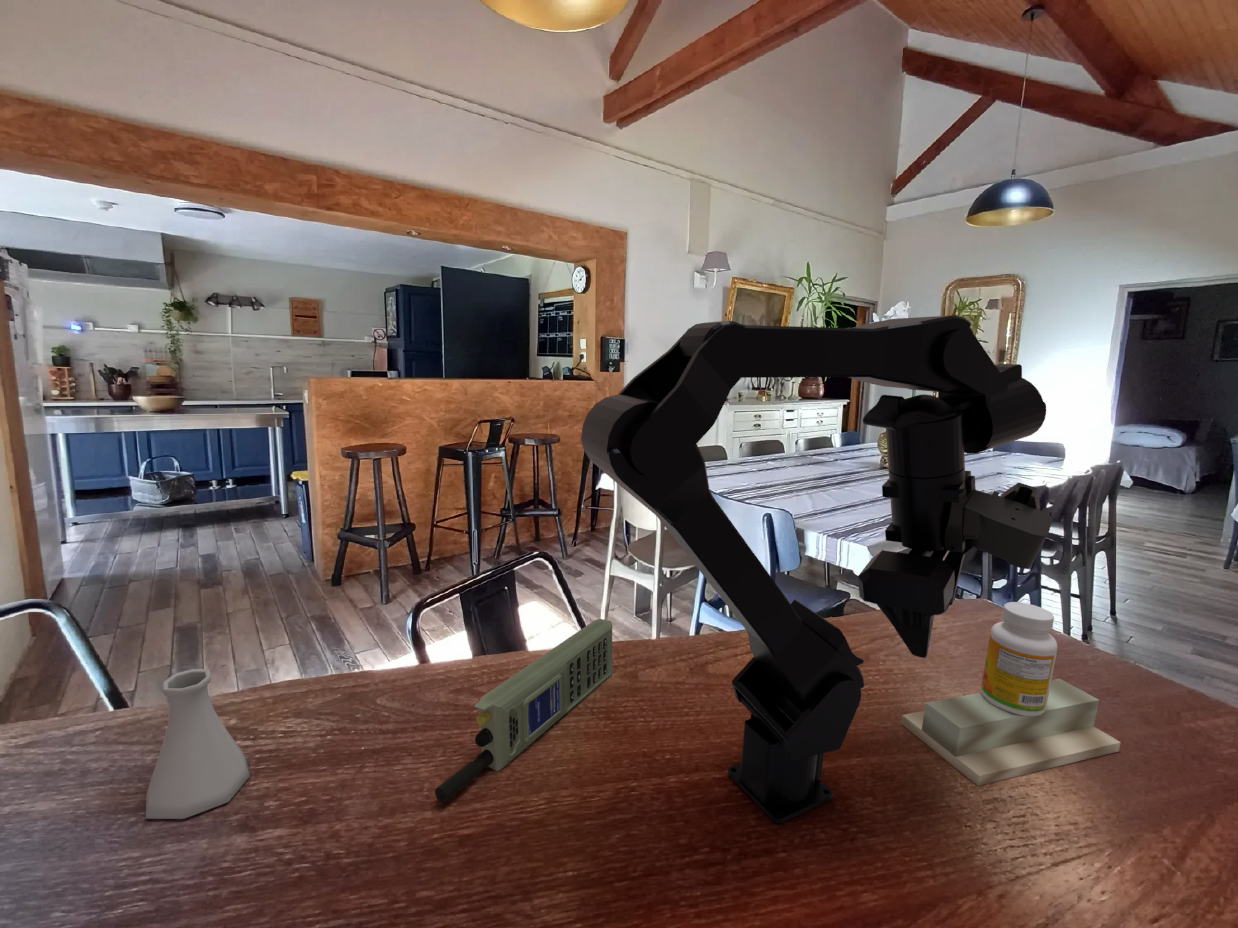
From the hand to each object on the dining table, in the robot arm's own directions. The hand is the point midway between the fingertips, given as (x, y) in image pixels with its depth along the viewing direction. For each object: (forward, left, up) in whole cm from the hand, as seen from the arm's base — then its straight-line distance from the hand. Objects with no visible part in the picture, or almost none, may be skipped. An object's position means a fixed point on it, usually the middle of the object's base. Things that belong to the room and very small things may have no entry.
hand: (933, 628), depth 53 cm
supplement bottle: (+11, -3, -9) cm, 14 cm away
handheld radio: (-31, +19, -13) cm, 39 cm away
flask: (-59, +23, -13) cm, 65 cm away
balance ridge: (+11, -3, -13) cm, 17 cm away
